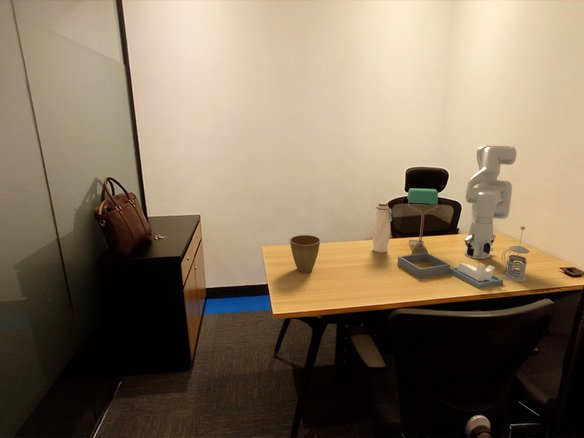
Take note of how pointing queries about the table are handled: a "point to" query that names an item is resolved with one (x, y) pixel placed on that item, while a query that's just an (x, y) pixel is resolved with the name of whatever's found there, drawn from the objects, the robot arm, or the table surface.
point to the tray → (479, 284)
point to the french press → (516, 263)
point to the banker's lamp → (421, 197)
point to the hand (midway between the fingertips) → (478, 254)
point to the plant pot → (305, 251)
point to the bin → (438, 268)
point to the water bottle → (382, 228)
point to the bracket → (477, 271)
